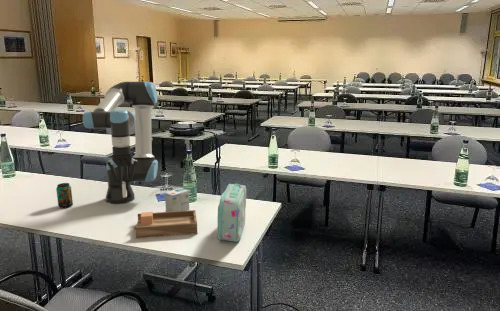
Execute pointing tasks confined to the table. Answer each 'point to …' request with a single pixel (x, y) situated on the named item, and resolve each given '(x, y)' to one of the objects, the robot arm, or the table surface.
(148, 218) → the block
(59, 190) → the beverage can
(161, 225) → the box
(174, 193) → the light bulb box
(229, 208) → the lunch box
